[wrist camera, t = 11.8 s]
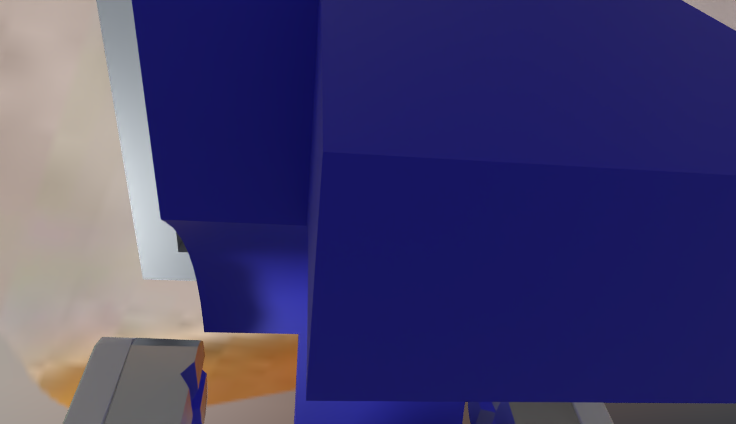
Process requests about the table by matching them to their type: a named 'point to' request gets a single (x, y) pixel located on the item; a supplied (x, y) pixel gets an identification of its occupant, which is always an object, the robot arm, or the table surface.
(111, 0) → the tray
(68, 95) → the table surface
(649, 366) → the blue angular stepped piece
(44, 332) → the table surface
